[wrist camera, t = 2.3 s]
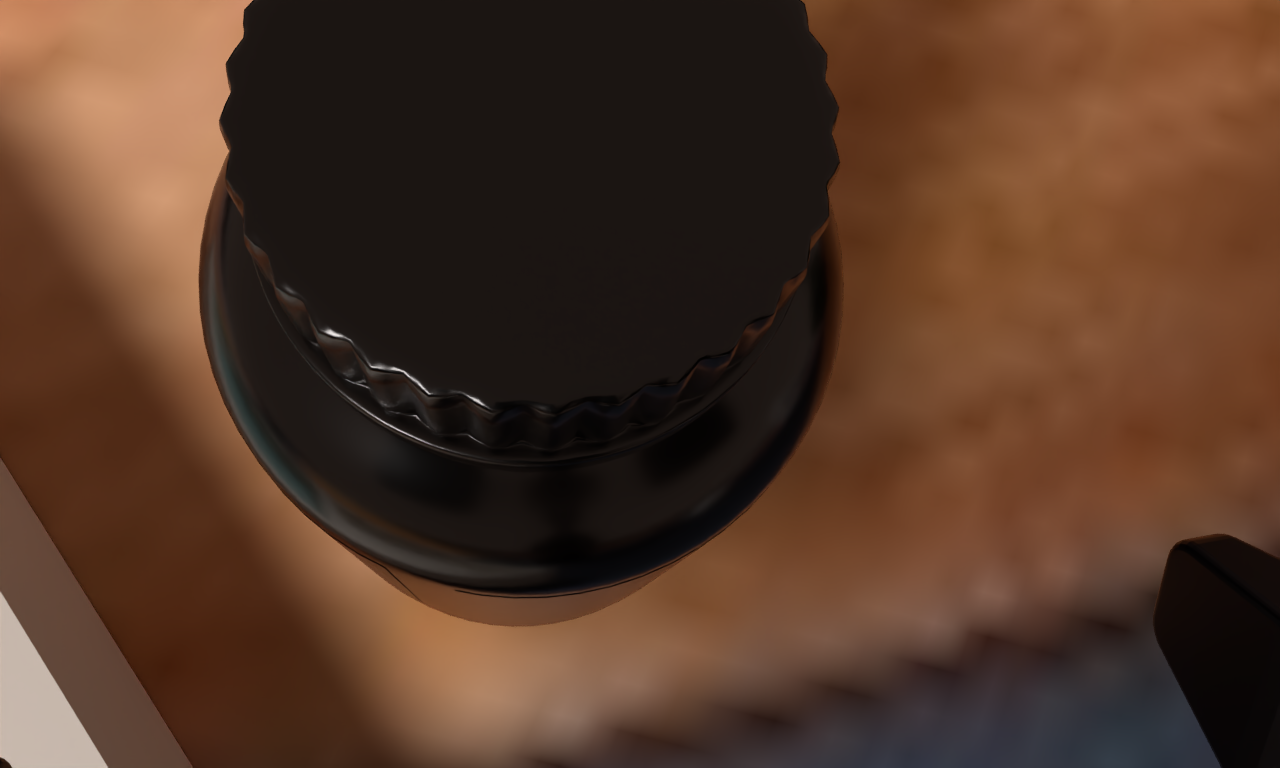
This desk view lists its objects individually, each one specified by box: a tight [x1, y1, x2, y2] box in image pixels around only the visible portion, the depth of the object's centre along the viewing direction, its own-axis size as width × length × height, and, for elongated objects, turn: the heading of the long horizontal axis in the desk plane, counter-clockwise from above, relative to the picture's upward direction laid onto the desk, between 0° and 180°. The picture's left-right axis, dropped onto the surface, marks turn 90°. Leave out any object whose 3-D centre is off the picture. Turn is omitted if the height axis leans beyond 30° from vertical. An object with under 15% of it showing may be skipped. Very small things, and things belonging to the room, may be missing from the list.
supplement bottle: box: [199, 0, 844, 627], centre depth 15 cm, size 7×7×12 cm
